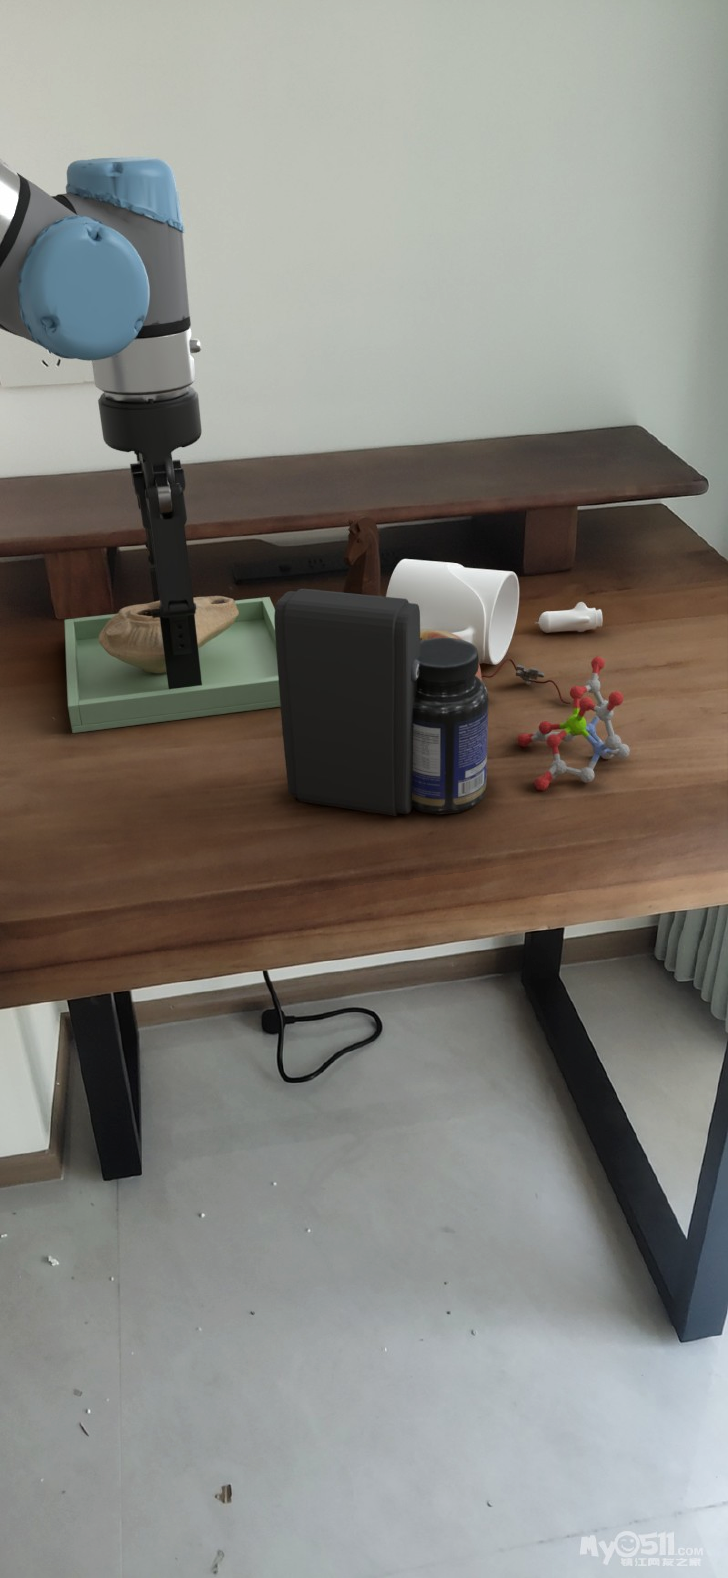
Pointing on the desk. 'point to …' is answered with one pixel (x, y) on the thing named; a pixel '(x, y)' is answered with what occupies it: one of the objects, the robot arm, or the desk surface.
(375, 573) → the chess piece
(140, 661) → the pottery oil lamp
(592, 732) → the molecular model
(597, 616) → the small white plastic part
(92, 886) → the desk surface
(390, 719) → the dark grey rectangular block
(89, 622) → the tray
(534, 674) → the pendant
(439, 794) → the pill bottle
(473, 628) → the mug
